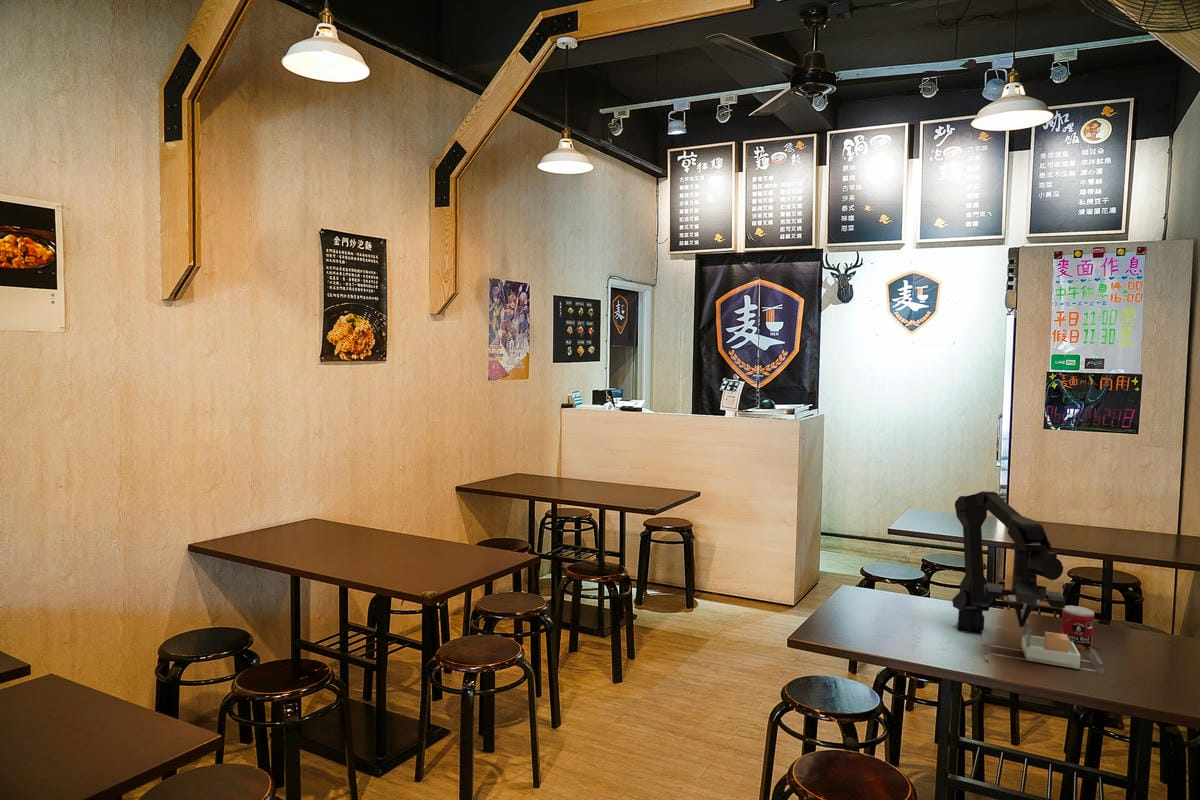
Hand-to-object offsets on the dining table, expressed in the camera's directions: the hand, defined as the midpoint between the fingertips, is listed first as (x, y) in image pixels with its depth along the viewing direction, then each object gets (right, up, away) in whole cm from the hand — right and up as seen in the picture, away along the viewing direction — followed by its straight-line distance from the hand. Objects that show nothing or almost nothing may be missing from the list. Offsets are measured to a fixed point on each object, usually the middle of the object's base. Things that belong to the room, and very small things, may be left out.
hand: (1021, 626), depth 208 cm
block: (+8, -7, -3) cm, 10 cm away
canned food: (+21, -9, +10) cm, 25 cm away
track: (+4, -9, -1) cm, 10 cm away
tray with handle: (+6, -8, -2) cm, 10 cm away
